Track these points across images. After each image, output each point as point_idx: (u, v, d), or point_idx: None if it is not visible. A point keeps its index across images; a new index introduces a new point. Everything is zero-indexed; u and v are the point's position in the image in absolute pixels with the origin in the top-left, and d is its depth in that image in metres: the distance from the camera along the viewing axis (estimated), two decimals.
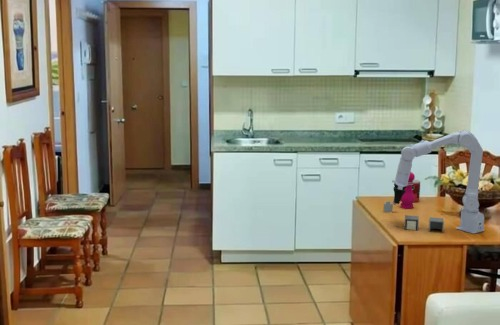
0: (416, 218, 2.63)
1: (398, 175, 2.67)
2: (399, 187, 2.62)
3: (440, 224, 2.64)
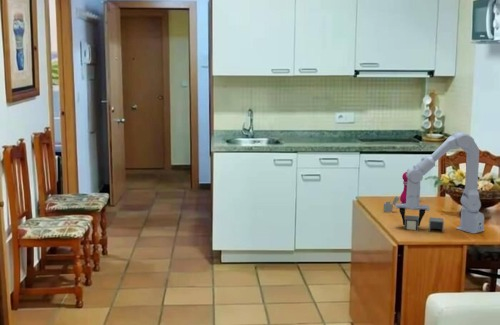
0: (416, 218, 2.63)
1: (417, 199, 2.61)
2: None
3: (440, 224, 2.64)
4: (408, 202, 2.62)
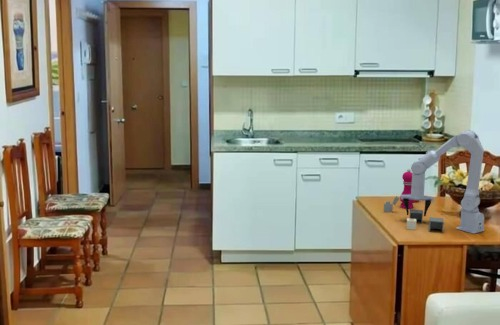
0: (420, 211, 2.75)
1: (422, 190, 2.72)
2: (433, 199, 2.73)
3: (440, 224, 2.64)
4: (413, 192, 2.74)
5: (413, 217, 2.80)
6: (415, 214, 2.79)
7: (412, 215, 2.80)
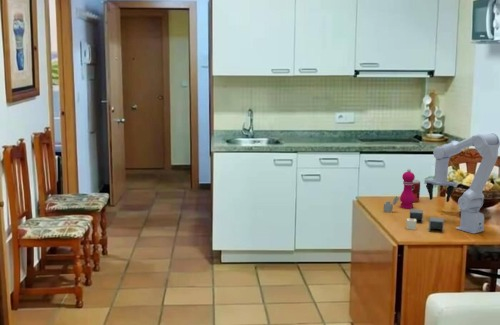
0: (420, 211, 2.75)
1: (444, 175, 2.74)
2: (456, 185, 2.73)
3: (440, 224, 2.64)
4: (435, 177, 2.76)
5: (413, 217, 2.80)
6: (415, 214, 2.79)
7: (412, 215, 2.80)
